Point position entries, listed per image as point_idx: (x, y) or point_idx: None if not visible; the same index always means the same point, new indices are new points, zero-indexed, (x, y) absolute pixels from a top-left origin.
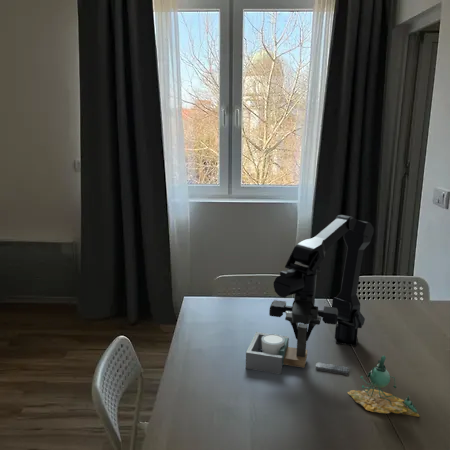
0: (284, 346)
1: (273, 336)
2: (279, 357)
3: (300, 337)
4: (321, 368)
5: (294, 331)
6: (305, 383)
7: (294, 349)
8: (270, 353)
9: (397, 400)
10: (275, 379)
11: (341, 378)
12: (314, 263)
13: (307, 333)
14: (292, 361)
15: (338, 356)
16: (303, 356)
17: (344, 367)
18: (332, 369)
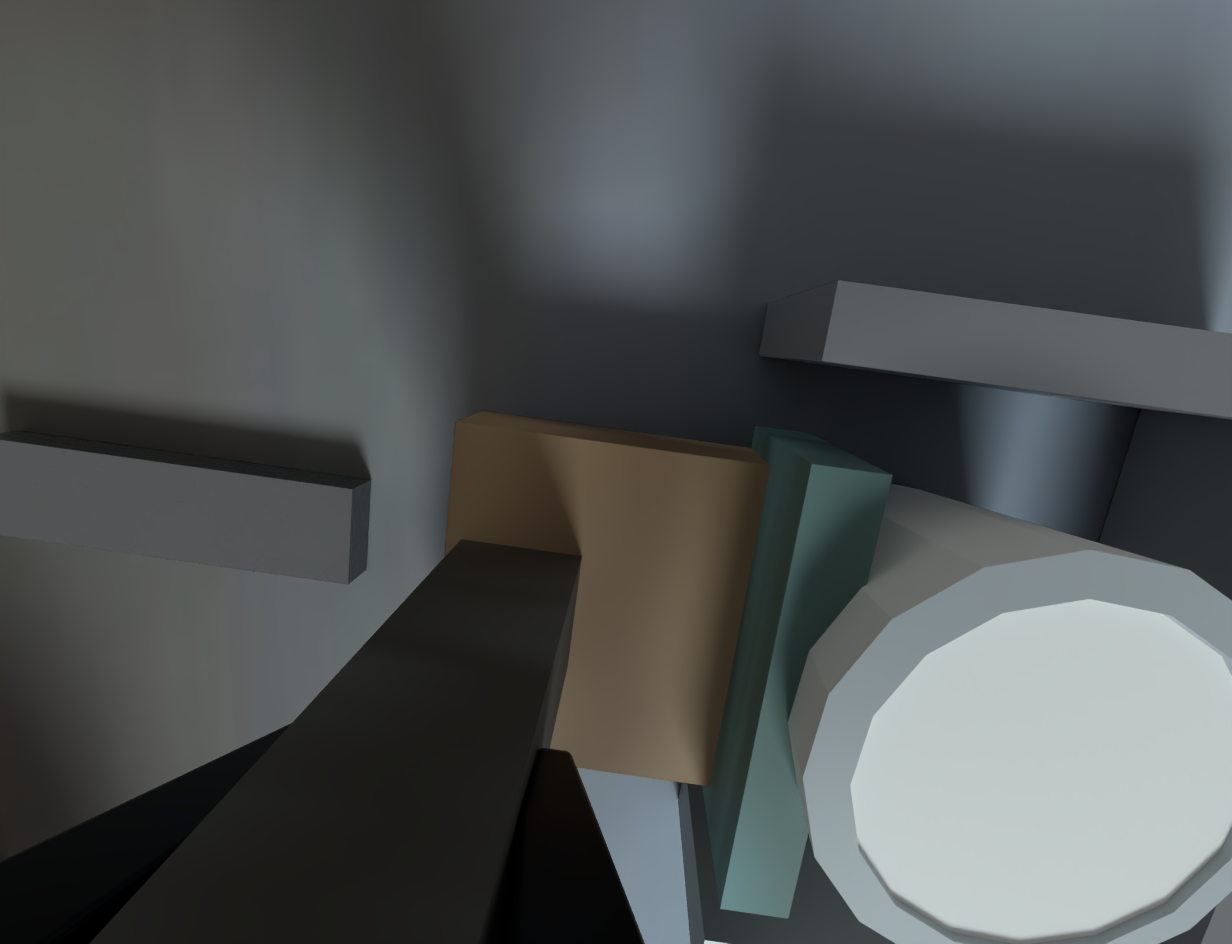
0: (791, 638)
1: (1029, 886)
2: (884, 289)
3: (445, 744)
4: (291, 474)
5: (614, 921)
6: (475, 146)
7: (608, 726)
8: (991, 513)
9: None
10: (840, 169)
11: (81, 341)
12: None
13: (155, 851)
14: (636, 440)
15: (148, 782)
16: (477, 545)
17: (26, 519)
18: (160, 460)
